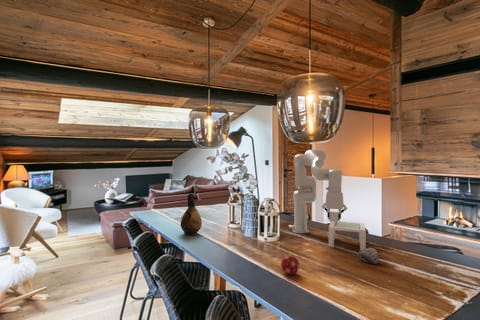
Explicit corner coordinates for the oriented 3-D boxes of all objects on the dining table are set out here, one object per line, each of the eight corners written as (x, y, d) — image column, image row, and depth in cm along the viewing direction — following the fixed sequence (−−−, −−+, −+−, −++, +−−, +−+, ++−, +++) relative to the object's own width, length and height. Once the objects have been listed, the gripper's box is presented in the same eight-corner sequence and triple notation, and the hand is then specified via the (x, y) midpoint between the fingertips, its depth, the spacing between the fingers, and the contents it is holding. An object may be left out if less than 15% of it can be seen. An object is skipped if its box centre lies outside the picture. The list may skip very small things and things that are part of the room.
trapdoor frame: (328, 246, 177) (328, 227, 177) (330, 237, 196) (331, 220, 196) (365, 250, 169) (365, 230, 169) (364, 241, 188) (364, 223, 188)
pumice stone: (361, 268, 148) (381, 265, 145) (357, 253, 149) (377, 250, 145) (360, 261, 158) (379, 258, 154) (356, 247, 158) (374, 244, 155)
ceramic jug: (205, 234, 203) (205, 193, 203) (185, 238, 194) (185, 195, 194) (195, 229, 217) (195, 191, 217) (176, 232, 208) (176, 192, 208)
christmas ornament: (286, 268, 141) (286, 249, 141) (302, 273, 135) (302, 252, 135) (277, 274, 134) (278, 253, 134) (293, 279, 128) (293, 257, 128)
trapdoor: (334, 228, 179) (334, 226, 179) (335, 223, 192) (335, 221, 192) (359, 230, 173) (359, 228, 173) (358, 225, 186) (358, 223, 186)
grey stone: (329, 221, 168) (329, 212, 168) (330, 219, 172) (330, 211, 172) (338, 221, 166) (338, 213, 166) (338, 220, 171) (338, 212, 170)
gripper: (319, 189, 168) (319, 219, 169) (349, 191, 162) (349, 222, 163) (320, 188, 175) (320, 216, 176) (349, 190, 169) (349, 219, 169)
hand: (334, 219), depth 169 cm, fingers closed on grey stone, 5 cm apart
